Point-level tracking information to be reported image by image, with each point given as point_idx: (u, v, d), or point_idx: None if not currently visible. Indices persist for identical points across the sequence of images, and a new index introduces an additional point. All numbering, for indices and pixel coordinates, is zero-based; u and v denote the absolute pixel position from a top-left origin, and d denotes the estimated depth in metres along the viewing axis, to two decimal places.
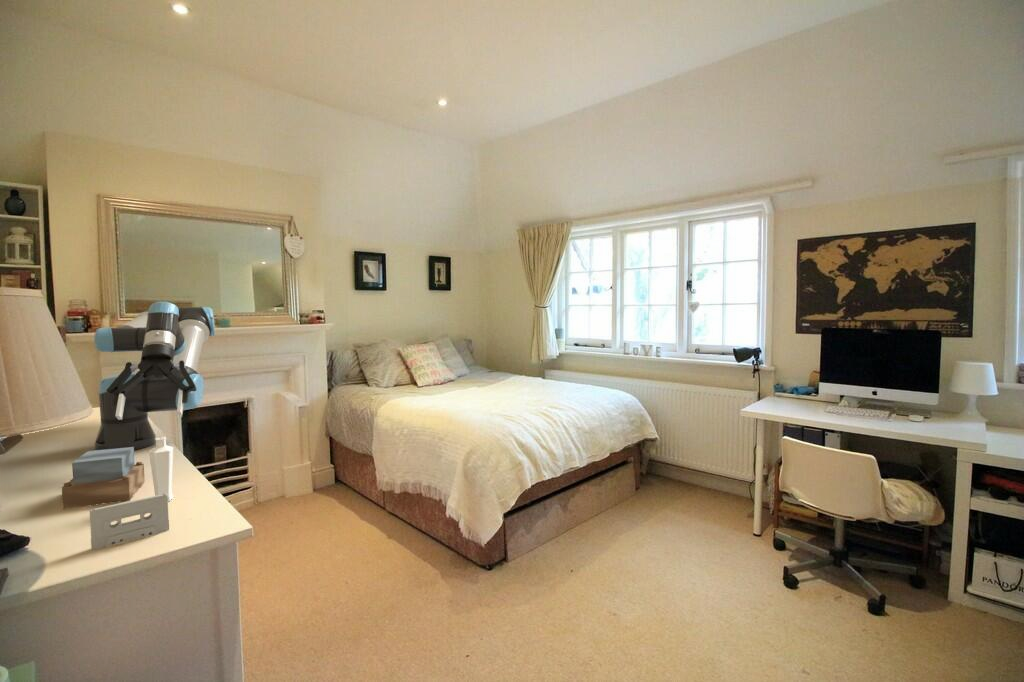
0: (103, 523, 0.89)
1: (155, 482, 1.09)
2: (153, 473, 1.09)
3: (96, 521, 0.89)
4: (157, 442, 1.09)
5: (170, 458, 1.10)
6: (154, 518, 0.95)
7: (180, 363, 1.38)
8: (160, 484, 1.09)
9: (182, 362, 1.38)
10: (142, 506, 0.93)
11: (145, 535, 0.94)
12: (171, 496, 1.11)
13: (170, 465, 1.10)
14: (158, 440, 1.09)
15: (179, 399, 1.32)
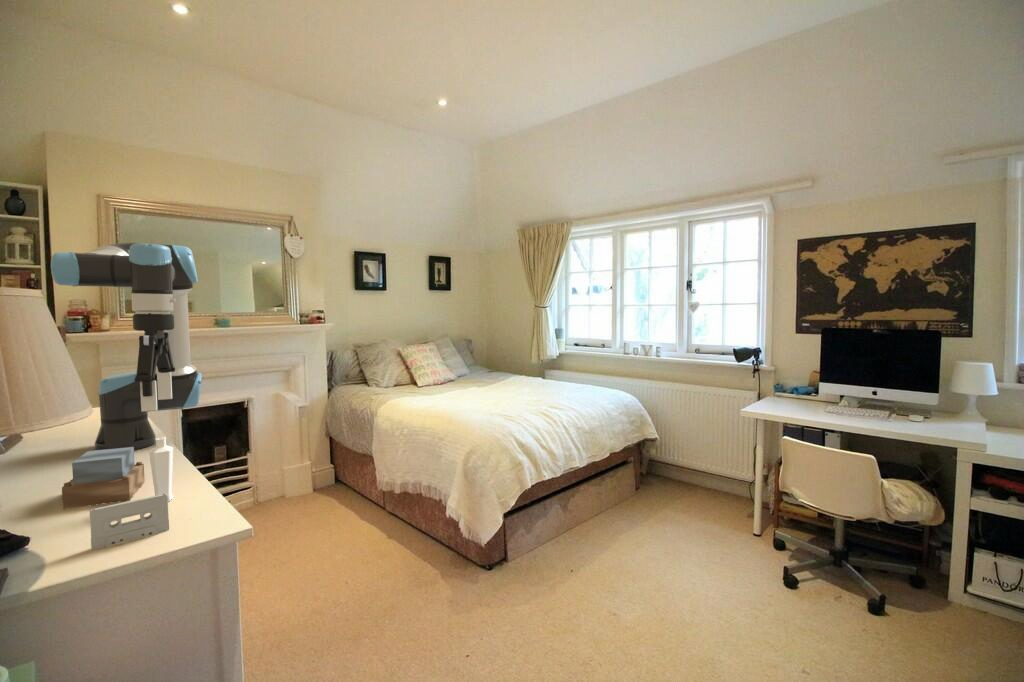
0: (103, 523, 0.89)
1: (155, 482, 1.09)
2: (153, 473, 1.09)
3: (96, 521, 0.89)
4: (157, 442, 1.09)
5: (170, 458, 1.10)
6: (154, 518, 0.95)
7: (167, 336, 1.13)
8: (160, 484, 1.09)
9: (168, 335, 1.14)
10: (142, 506, 0.93)
11: (145, 535, 0.94)
12: (171, 496, 1.11)
13: (170, 465, 1.10)
14: (158, 440, 1.09)
15: (171, 384, 1.15)
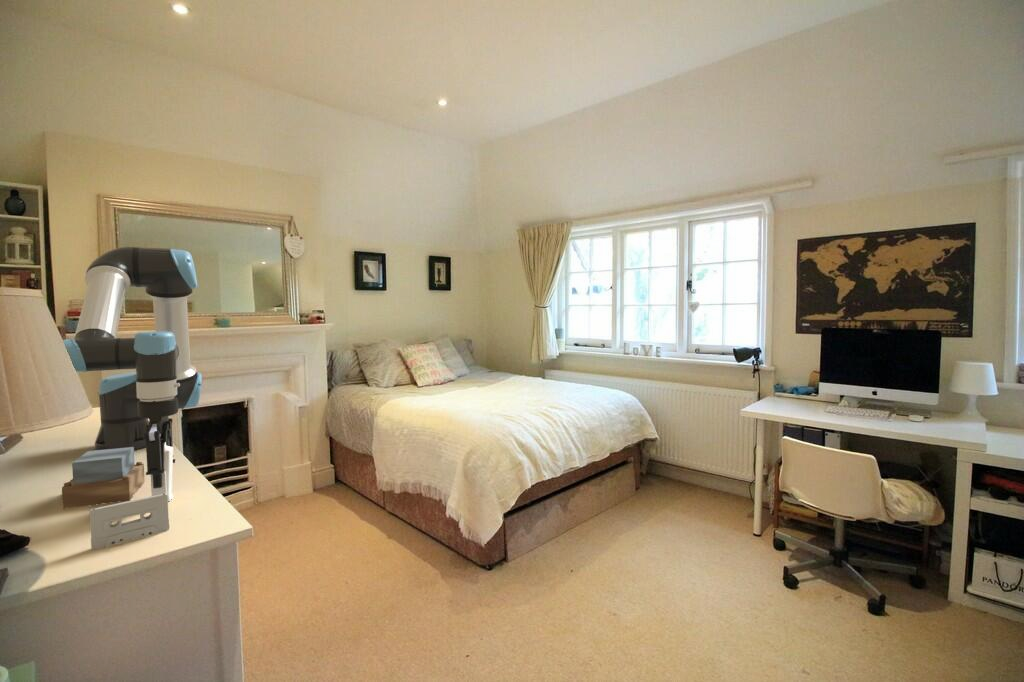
0: (103, 523, 0.89)
1: None
2: None
3: (96, 521, 0.89)
4: None
5: (170, 458, 1.10)
6: (154, 518, 0.95)
7: (171, 422, 1.15)
8: None
9: (171, 421, 1.15)
10: (142, 506, 0.93)
11: (145, 535, 0.94)
12: (171, 496, 1.11)
13: (170, 465, 1.10)
14: None
15: None
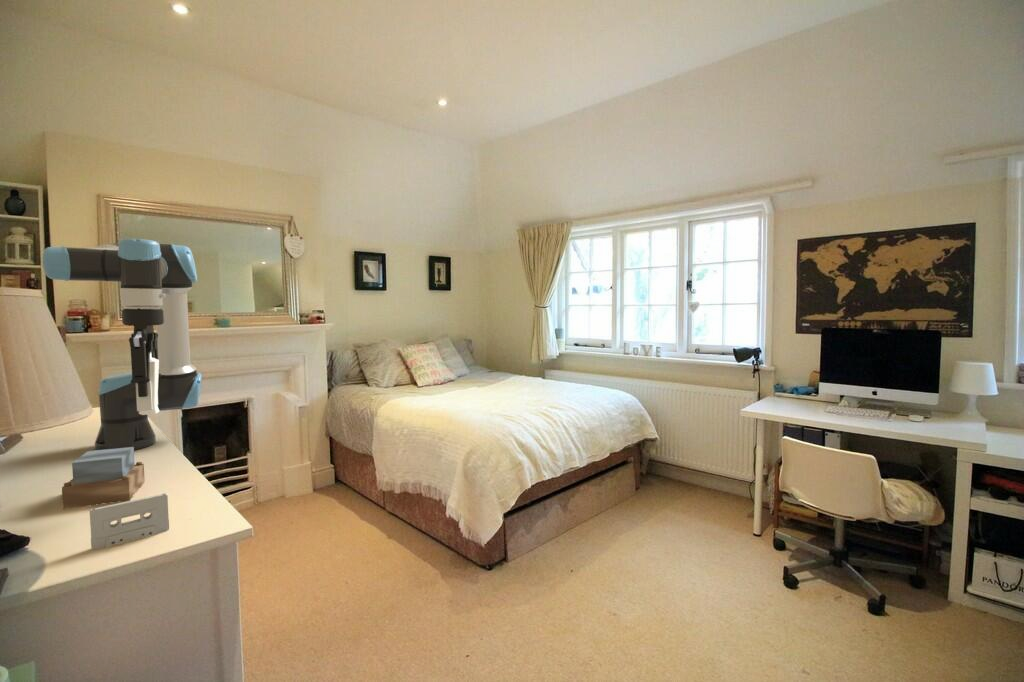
0: (103, 523, 0.89)
1: None
2: None
3: (96, 521, 0.89)
4: None
5: (156, 370, 1.09)
6: (154, 518, 0.95)
7: (156, 336, 1.14)
8: None
9: (157, 336, 1.14)
10: (142, 506, 0.93)
11: (145, 535, 0.94)
12: (157, 409, 1.10)
13: (155, 376, 1.09)
14: None
15: None
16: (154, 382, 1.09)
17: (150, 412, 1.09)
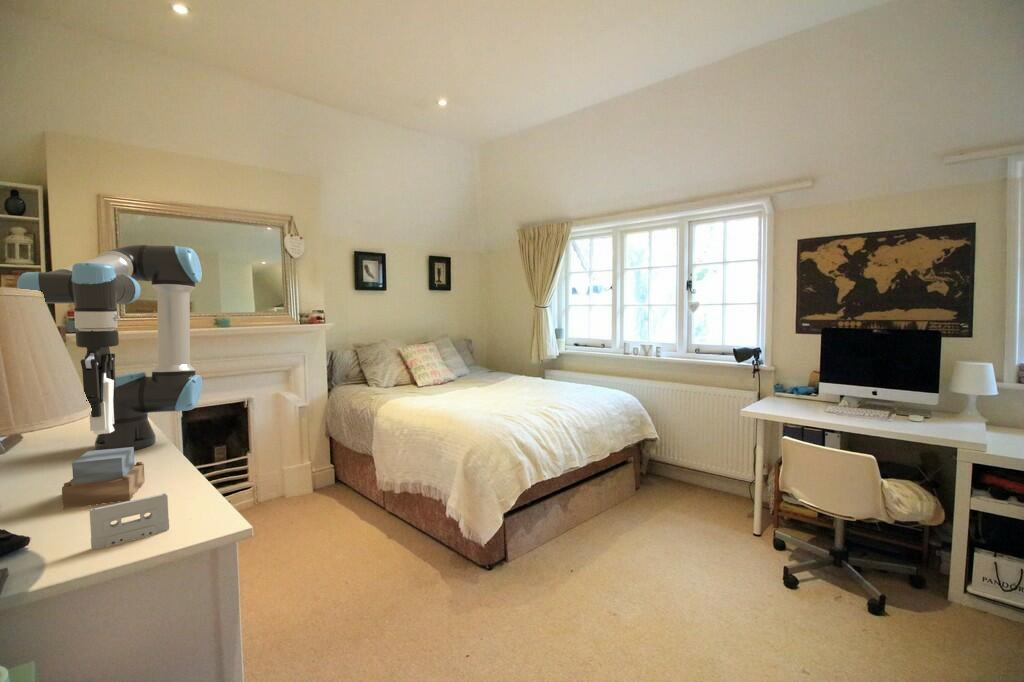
0: (103, 523, 0.89)
1: None
2: None
3: (96, 521, 0.89)
4: None
5: (110, 390, 1.11)
6: (154, 518, 0.95)
7: (113, 357, 1.16)
8: None
9: (114, 356, 1.17)
10: (142, 506, 0.93)
11: (145, 535, 0.94)
12: (111, 428, 1.13)
13: (109, 396, 1.11)
14: None
15: None
16: (108, 402, 1.11)
17: (104, 431, 1.11)
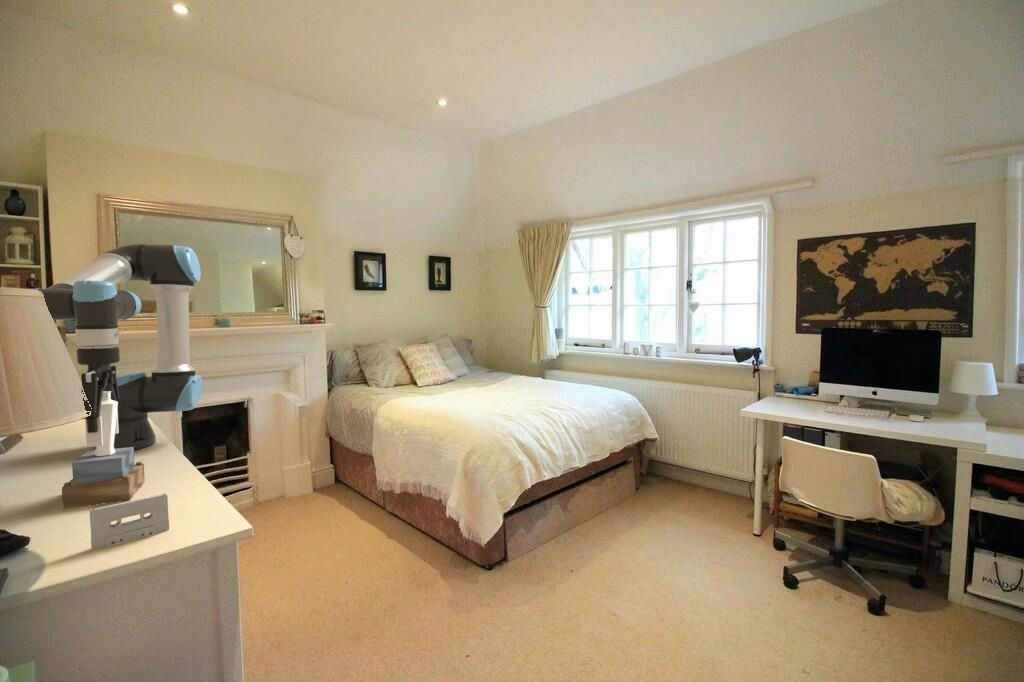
0: (103, 523, 0.89)
1: None
2: None
3: (96, 521, 0.89)
4: None
5: (113, 412, 1.12)
6: (154, 518, 0.95)
7: (114, 369, 1.17)
8: None
9: (115, 368, 1.17)
10: (142, 506, 0.93)
11: (145, 535, 0.94)
12: (112, 450, 1.13)
13: (113, 418, 1.12)
14: None
15: (117, 418, 1.17)
16: (111, 424, 1.12)
17: (105, 453, 1.11)
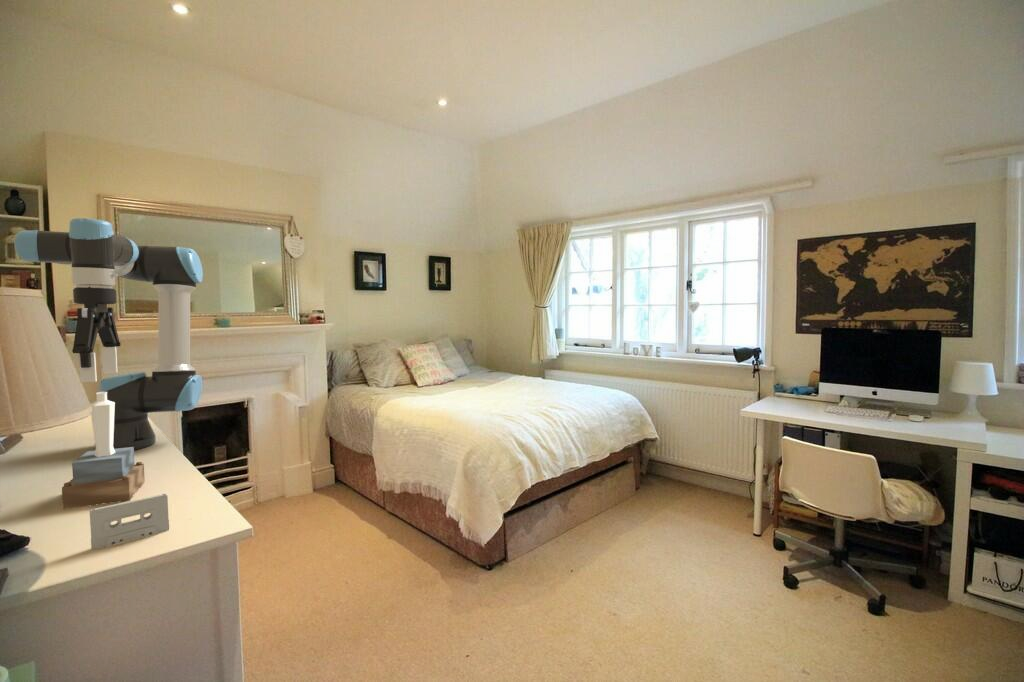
0: (103, 523, 0.89)
1: (95, 435, 1.11)
2: (93, 426, 1.11)
3: (96, 521, 0.89)
4: (97, 396, 1.11)
5: (111, 412, 1.12)
6: (154, 518, 0.95)
7: (111, 311, 1.16)
8: (100, 437, 1.11)
9: None
10: (142, 506, 0.93)
11: (145, 535, 0.94)
12: (112, 450, 1.13)
13: (110, 419, 1.12)
14: (98, 394, 1.10)
15: (116, 358, 1.17)
16: (109, 424, 1.11)
17: (105, 454, 1.11)
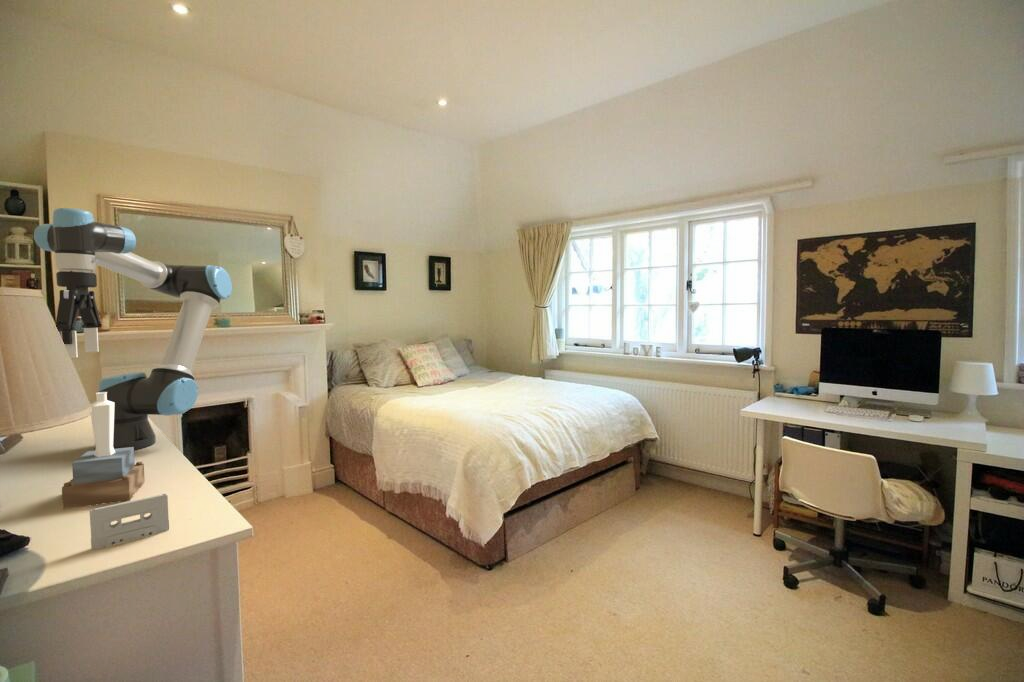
0: (103, 523, 0.89)
1: (95, 435, 1.11)
2: (93, 427, 1.11)
3: (96, 521, 0.89)
4: (97, 396, 1.10)
5: (111, 412, 1.12)
6: (154, 518, 0.95)
7: (93, 294, 1.26)
8: (100, 437, 1.11)
9: (93, 293, 1.26)
10: (142, 506, 0.93)
11: (145, 535, 0.94)
12: (112, 450, 1.13)
13: (110, 419, 1.12)
14: (98, 394, 1.10)
15: (97, 338, 1.27)
16: (109, 425, 1.11)
17: (105, 454, 1.11)
